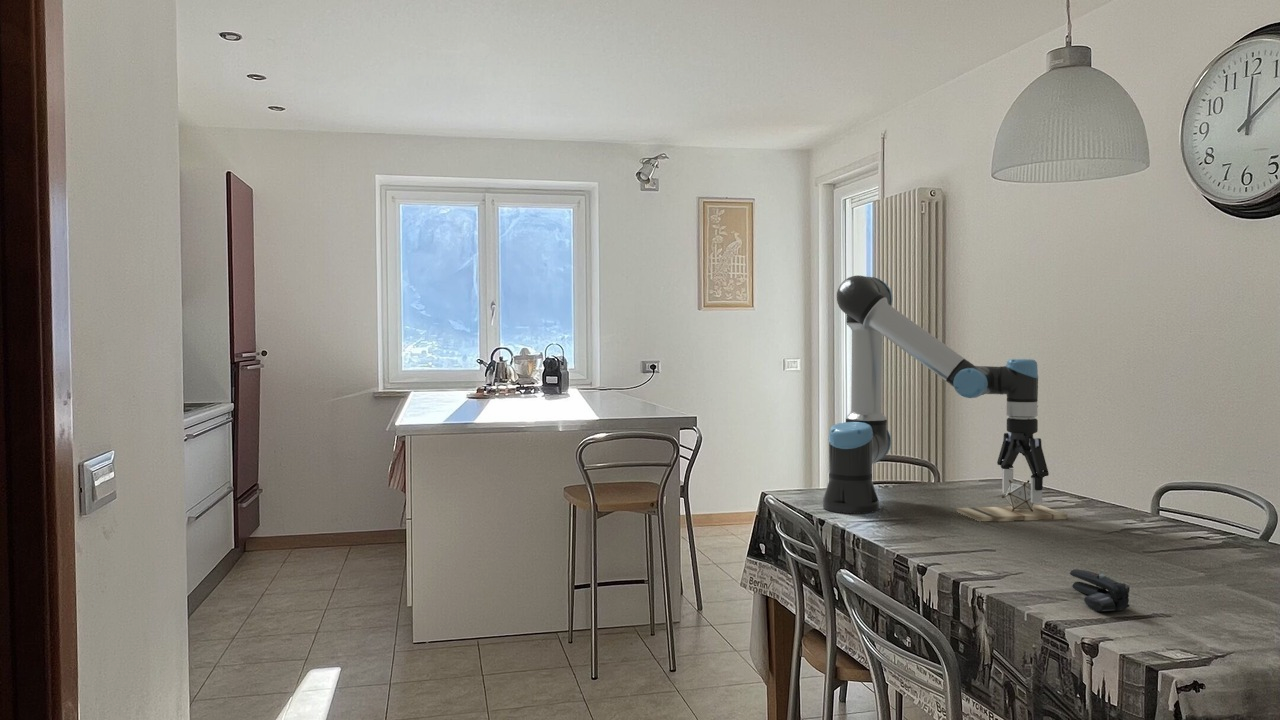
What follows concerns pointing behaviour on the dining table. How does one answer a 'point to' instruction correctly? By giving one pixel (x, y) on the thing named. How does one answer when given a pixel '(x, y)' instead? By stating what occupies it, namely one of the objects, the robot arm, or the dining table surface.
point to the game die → (1019, 495)
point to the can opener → (1101, 591)
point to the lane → (1011, 513)
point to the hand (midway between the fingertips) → (1021, 497)
